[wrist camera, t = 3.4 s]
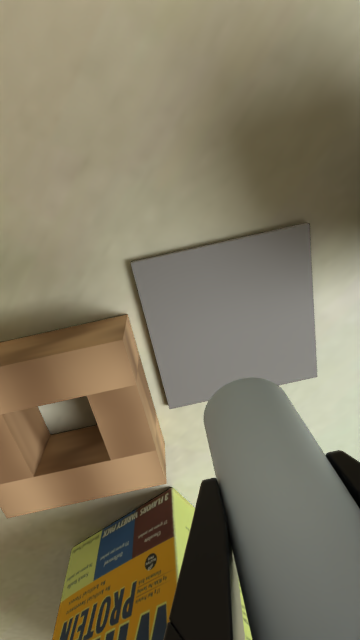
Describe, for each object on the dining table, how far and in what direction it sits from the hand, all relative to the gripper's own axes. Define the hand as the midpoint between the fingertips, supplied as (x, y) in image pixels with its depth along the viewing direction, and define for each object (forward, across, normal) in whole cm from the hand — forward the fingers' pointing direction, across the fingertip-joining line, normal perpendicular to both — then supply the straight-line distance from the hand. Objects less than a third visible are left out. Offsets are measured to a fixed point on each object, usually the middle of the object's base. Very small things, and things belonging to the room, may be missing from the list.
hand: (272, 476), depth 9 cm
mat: (+12, -2, +1) cm, 12 cm away
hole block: (+12, +10, +4) cm, 16 cm away
